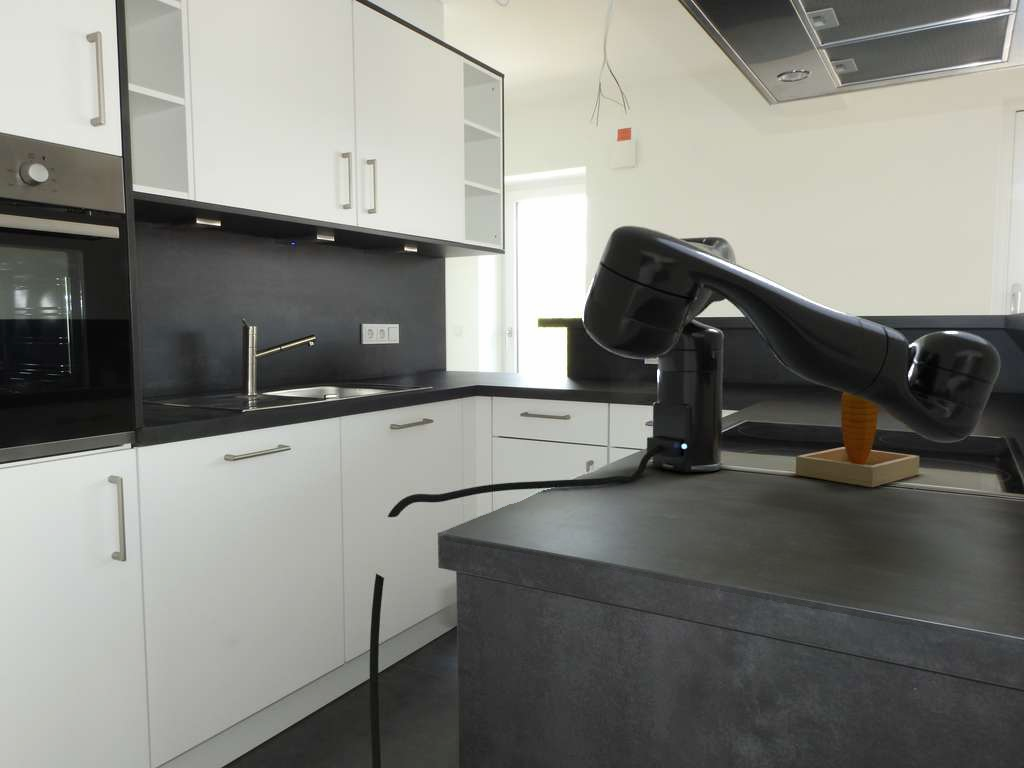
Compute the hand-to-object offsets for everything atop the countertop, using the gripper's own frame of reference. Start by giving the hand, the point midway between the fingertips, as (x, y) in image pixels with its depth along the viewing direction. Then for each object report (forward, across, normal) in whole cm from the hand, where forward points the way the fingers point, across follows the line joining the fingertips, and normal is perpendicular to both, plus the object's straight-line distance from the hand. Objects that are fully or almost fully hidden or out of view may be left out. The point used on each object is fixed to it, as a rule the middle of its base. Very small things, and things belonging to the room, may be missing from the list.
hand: (857, 368), depth 101 cm
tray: (-2, 0, -15) cm, 15 cm away
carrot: (-2, 0, -14) cm, 14 cm away
